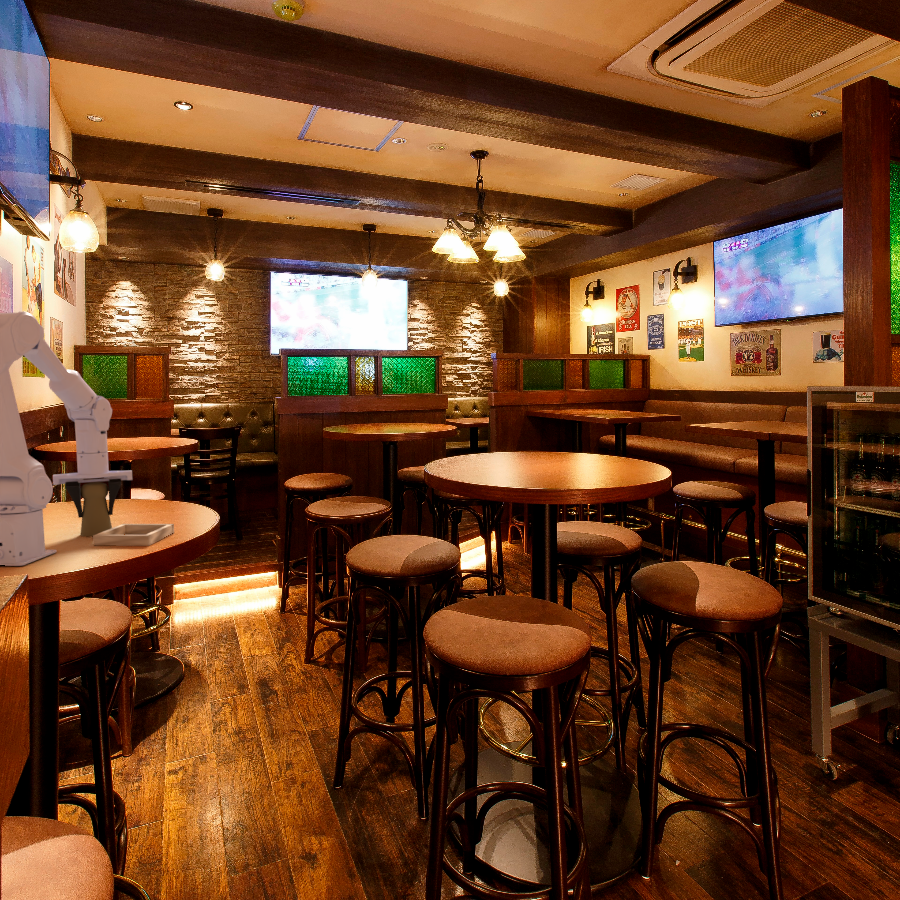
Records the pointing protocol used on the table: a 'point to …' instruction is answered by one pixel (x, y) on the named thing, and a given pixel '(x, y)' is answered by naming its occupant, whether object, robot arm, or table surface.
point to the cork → (94, 509)
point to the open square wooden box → (119, 539)
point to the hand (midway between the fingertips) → (95, 515)
